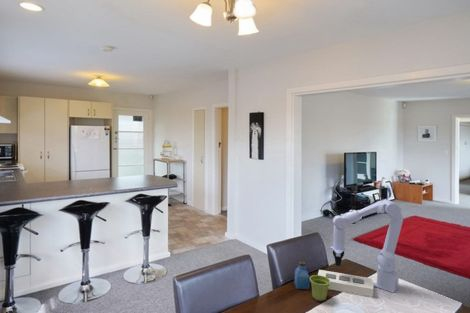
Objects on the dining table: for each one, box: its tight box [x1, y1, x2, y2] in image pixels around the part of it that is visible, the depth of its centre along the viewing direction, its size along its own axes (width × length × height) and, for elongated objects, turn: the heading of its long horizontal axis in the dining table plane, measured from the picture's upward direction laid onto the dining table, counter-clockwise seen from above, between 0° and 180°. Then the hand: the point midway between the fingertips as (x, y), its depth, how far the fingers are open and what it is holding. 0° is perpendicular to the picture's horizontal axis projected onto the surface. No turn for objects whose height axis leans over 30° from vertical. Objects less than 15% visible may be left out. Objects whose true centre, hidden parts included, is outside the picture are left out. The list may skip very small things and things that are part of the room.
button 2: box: [353, 278, 363, 284], centre depth 151 cm, size 4×4×4 cm
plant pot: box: [309, 274, 331, 302], centre depth 142 cm, size 9×9×9 cm
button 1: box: [326, 273, 336, 279], centre depth 156 cm, size 4×4×4 cm
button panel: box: [317, 269, 374, 298], centre depth 154 cm, size 26×12×4 cm, turn 69°
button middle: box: [340, 276, 349, 282], centre depth 154 cm, size 4×4×4 cm
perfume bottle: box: [293, 260, 311, 290], centre depth 153 cm, size 6×6×12 cm
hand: (338, 265), depth 157 cm, fingers closed
